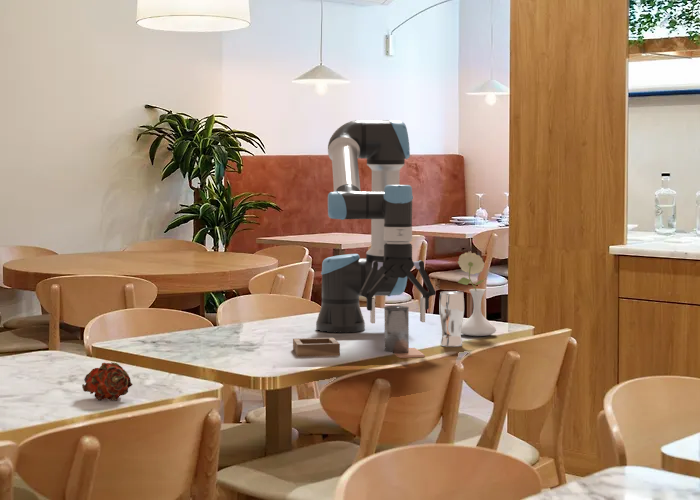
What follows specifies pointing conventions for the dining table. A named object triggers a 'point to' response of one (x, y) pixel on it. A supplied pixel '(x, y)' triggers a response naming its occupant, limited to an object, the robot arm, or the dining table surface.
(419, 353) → the pad
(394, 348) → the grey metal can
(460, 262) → the flower in vase
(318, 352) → the socket block
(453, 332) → the beer glass
